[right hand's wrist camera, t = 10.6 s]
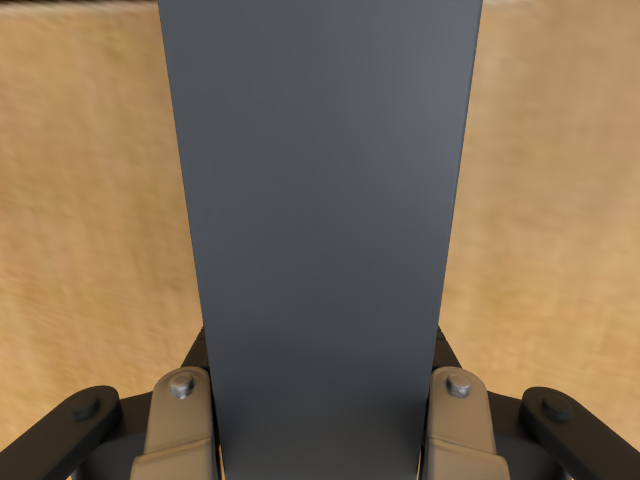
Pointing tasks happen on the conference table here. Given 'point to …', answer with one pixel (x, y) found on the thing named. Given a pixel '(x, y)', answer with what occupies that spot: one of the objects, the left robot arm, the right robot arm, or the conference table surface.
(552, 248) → the conference table surface
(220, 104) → the post
